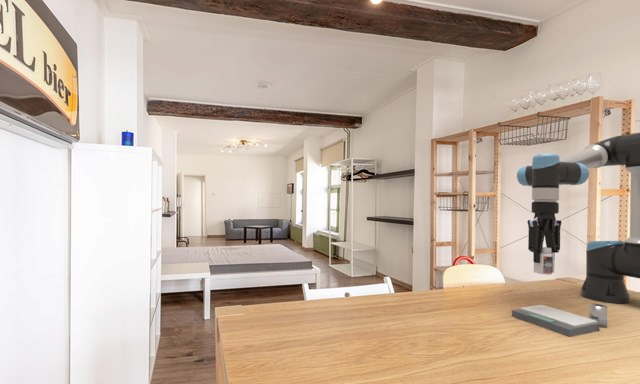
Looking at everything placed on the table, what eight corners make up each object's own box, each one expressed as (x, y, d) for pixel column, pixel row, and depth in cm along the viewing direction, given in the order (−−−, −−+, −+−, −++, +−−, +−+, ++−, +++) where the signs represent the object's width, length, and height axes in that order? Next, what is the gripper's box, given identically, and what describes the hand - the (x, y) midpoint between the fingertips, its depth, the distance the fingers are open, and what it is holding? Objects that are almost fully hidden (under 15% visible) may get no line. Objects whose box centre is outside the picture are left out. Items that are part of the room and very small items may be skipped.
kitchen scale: (540, 311, 120) (540, 304, 120) (599, 330, 103) (599, 321, 103) (511, 316, 114) (512, 308, 114) (569, 336, 98) (569, 327, 98)
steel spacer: (594, 321, 111) (594, 302, 111) (610, 326, 107) (610, 306, 107) (586, 323, 109) (586, 304, 109) (601, 328, 105) (602, 308, 105)
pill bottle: (538, 274, 112) (539, 248, 112) (532, 271, 117) (533, 246, 117) (554, 275, 111) (555, 249, 111) (548, 272, 116) (548, 247, 116)
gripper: (551, 201, 121) (550, 268, 121) (515, 200, 114) (514, 271, 114) (574, 202, 114) (573, 273, 114) (537, 200, 107) (536, 276, 107)
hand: (544, 272), depth 114 cm, fingers closed on pill bottle, 5 cm apart
